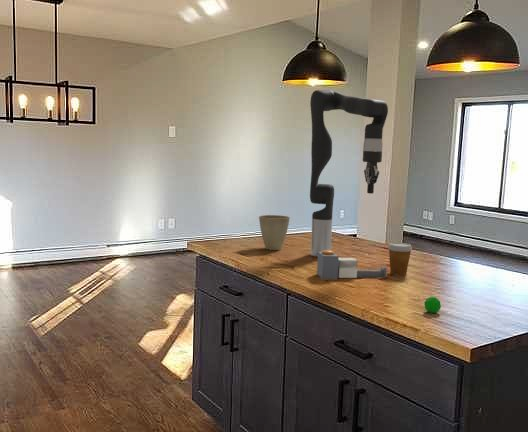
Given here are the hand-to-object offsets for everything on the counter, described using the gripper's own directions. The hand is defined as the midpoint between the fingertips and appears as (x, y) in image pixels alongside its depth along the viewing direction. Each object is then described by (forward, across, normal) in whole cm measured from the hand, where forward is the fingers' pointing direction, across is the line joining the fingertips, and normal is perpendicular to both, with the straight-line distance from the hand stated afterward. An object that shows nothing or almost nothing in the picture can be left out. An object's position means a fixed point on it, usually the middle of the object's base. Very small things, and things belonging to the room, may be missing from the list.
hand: (370, 193), depth 229 cm
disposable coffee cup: (+32, +5, +12) cm, 35 cm away
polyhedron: (+32, +59, +3) cm, 67 cm away
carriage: (+32, +11, -12) cm, 36 cm away
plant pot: (+32, -48, -32) cm, 66 cm away
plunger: (+27, +11, -19) cm, 34 cm away
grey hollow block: (+32, +11, -19) cm, 39 cm away
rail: (+32, +11, -6) cm, 34 cm away
